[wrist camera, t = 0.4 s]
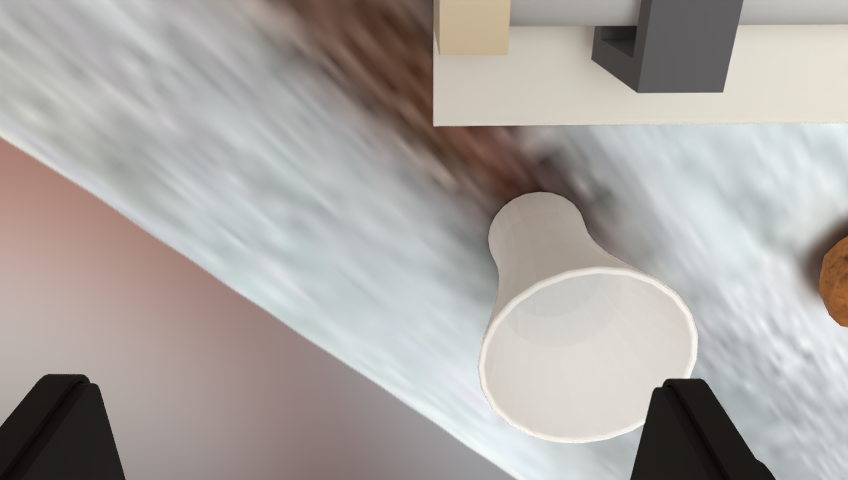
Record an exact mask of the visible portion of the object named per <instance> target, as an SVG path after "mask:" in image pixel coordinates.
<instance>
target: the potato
mask: <svg viewBox="0 0 848 480" xmlns="http://www.w3.org/2000/svg"><path fill="white" fill-rule="evenodd" d="M818 290H819V292H820V295H821V297H822V299H823V301H824V304H825V306H826V308H827V310H828V313H829V315H830V316H831V317H832V318H833V319H834V320H835V321H836V322H837V323H838V324H839V325H840V326H844V327H848V236H847V237H845V238H843V239H842V240H840V241H839V242H838V243H837V244H836V245H835V246H834V247H833V248H832V249H831V250H830V251H829V252H828V253H827V254H826V255H825V256H824V259H823V263H822V268H821V272H820V278H819V289H818Z"/></svg>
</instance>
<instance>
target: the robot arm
mask: <svg viewBox="0 0 848 480" xmlns="http://www.w3.org/2000/svg"><path fill="white" fill-rule="evenodd" d="M0 480H125V476H124V473H123V469H122V466H121V462H120V458H119V455H118V451H117V448H116V444H115V441H114V438H113V434H112V431H111V427H110V423H109V420H108V416H107V413H106V410H105V406H104V402H103V399H102V396H101V392H100V389H99V387H98V385H96V384H94V383H90V381H89V379H88V378H87V377H86V376H85V375H82V374H48V375H45V376H43V377H42V378H41V379H40V380H39V381H38V382H37V383H36V384H35V386H34V387H33V388H32V389H31V391H30V392H29V393H28V394H27V395H26V396H25V398H24V399H23V400H22V401H21V402H20V404H19V405H18V406H17V407H16V409H15V410H14V411H13V412H12V413H11V415H10V416H9V417H8V418H7V419H6V421H5V422H4V423H3V424H2V426H1V427H0ZM630 480H776V479H775V478H774V476H773V475H772V473H771V472H770V471H769V469H768V468H767V467H766V466H765V465H764V464H763V463H762V462H760V461H758V460H757V459H756V458H755V457H754V455H753V454H752V452H751V451H750V449H749V448H748V446H747V444H746V443H745V441H744V440H743V438H742V437H741V435H740V434H739V432H738V431H737V429H736V427H735V426H734V424H733V423H732V421H731V420H730V418H729V417H728V415H727V414H726V412H725V410H724V409H723V407H722V406H721V404H720V403H719V401H718V400H717V398H716V397H715V395H714V393H713V392H712V390H711V389H710V387H709V386H708V384H707V383H706V382H705V381H704V380H702V379H682V378H669V379H666V380H665V381H664V383H663V385H662V387H655V389H654V390H653V392H652V396H651V400H650V404H649V408H648V412H647V416H646V419H645V423H644V427H643V431H642V435H641V439H640V443H639V447H638V451H637V455H636V459H635V463H634V467H633V471H632V475H631V479H630Z"/></svg>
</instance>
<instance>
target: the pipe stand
mask: <svg viewBox="0 0 848 480" xmlns="http://www.w3.org/2000/svg"><path fill="white" fill-rule="evenodd" d="M640 6H641V0H433V126H509V125H635V124H760V123H848V0H744V1H743V5H742V10H741V14H740V19H739V23H738V28H737V32H736V37H735V41H734V46H733V50H732V55H731V59H730V64H729V68H728V73H727V77H726V82H725V86H724V91H723V93H636V92H635V91H634V90H632V89H631V88H630V87H628V86H627V85H625V84H624V83H623V82H621V81H620V80H619V79H617V78H616V77H615V76H613V75H612V74H610V73H609V72H608V71H606V70H605V69H604V68H602V67H601V66H599V65H598V64H597V63H595V62H594V61H593V60H591V56H592V48H593V39H594V31H595V26H638V19H639V13H640Z"/></svg>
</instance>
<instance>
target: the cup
mask: <svg viewBox="0 0 848 480" xmlns="http://www.w3.org/2000/svg"><path fill="white" fill-rule="evenodd" d="M488 241H489V249H490V252H491V254H492V256H493V258H494V260H495V262H496V265H497V267H498V272H499V288H498V295H497V298H496V302H495V305H494V308H493V311H492V315H491V318H490V321H489V323H488V326H487V329H486V332H485V335H484V337H483V340H482V343H481V349H480V355H479V361H478V372H479V378H480V384H481V389H482V391H483V393H484V395H485V396H486V398H487V400H488V402H489V404H490V406H491V407H492V409H493V410H495V411H496V412H497V413H498V414H499V415H500V416H501V417H502V418H503V419H504V420H505V421H506V422H507V423H508V424H510V425H512V426H513V427H515V428H517V429H519V430H521V431H523V432H524V433H526V434H528V435H530V436H534V437H538V438H541V439H545V440H549V441H552V442H565V443H585V442H592V441H600V440H606V439H609V438H612V437H615V436H618V435H621V434H624V433H627V432H630V431H632V430H634V429H636V428H638V427H639V426H641V425H643V424H644V423H645V419H646V416H647V412H648V408H649V404H650V400H651V396H652V392H653V390H654V389H655V387H662V385H663V383H664V381H665V380H666V379H669V378H682V379H689V378H690V375H691V372H692V370H693V367H694V364H695V362H696V359H697V346H698V332H697V329H696V326H695V323H694V319H693V316H692V313H691V311H690V310H689V308H688V307H687V306H686V304H685V303H684V302H683V300H682V299H681V298H680V296H679V295H678V294H677V293H676V292H675V291H674V290H672V289H671V288H669V287H668V286H666V285H665V284H663V283H662V282H660V281H659V280H658V279H656V278H655V277H653V276H651V275H649V274H647V273H645V272H643V271H641V270H639V269H637V268H635V267H633V266H631V265H629V264H627V263H625V262H623V261H621V260H619V259H618V258H616V257H614V256H612V255H610V254H609V253H607V252H606V251H604V250H603V249H602V248H601V247H600V246H599V245H598V244H596V243H595V242H594V240H593V239H592V238H591V236H590V235H589V234H588V232H587V229H586V226H585V224H584V221H583V218H582V216H581V213H580V212H579V210H578V209H577V208H576V207H575V205H574V204H573V203H572V202H570V201H569V200H567V199H566V198H564V197H562V196H559V195H557V194H554V193H547V192H535V193H529V194H525V195H522V196H520V197H517V198H515V199H513V200H512V201H510V202H509V203H508V204H506V205H505V206H503V207H502V209H501V210H500V211H499V212H498V213H497V215H496V216H495V218H494V220H493V222H492V224H491V226H490V230H489V236H488Z"/></svg>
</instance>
